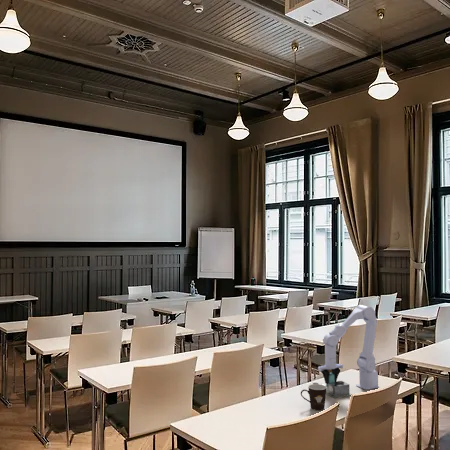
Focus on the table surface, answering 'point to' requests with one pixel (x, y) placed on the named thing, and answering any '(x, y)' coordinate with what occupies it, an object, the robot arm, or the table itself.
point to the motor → (337, 389)
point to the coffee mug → (316, 396)
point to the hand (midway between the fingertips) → (330, 383)
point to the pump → (331, 378)
